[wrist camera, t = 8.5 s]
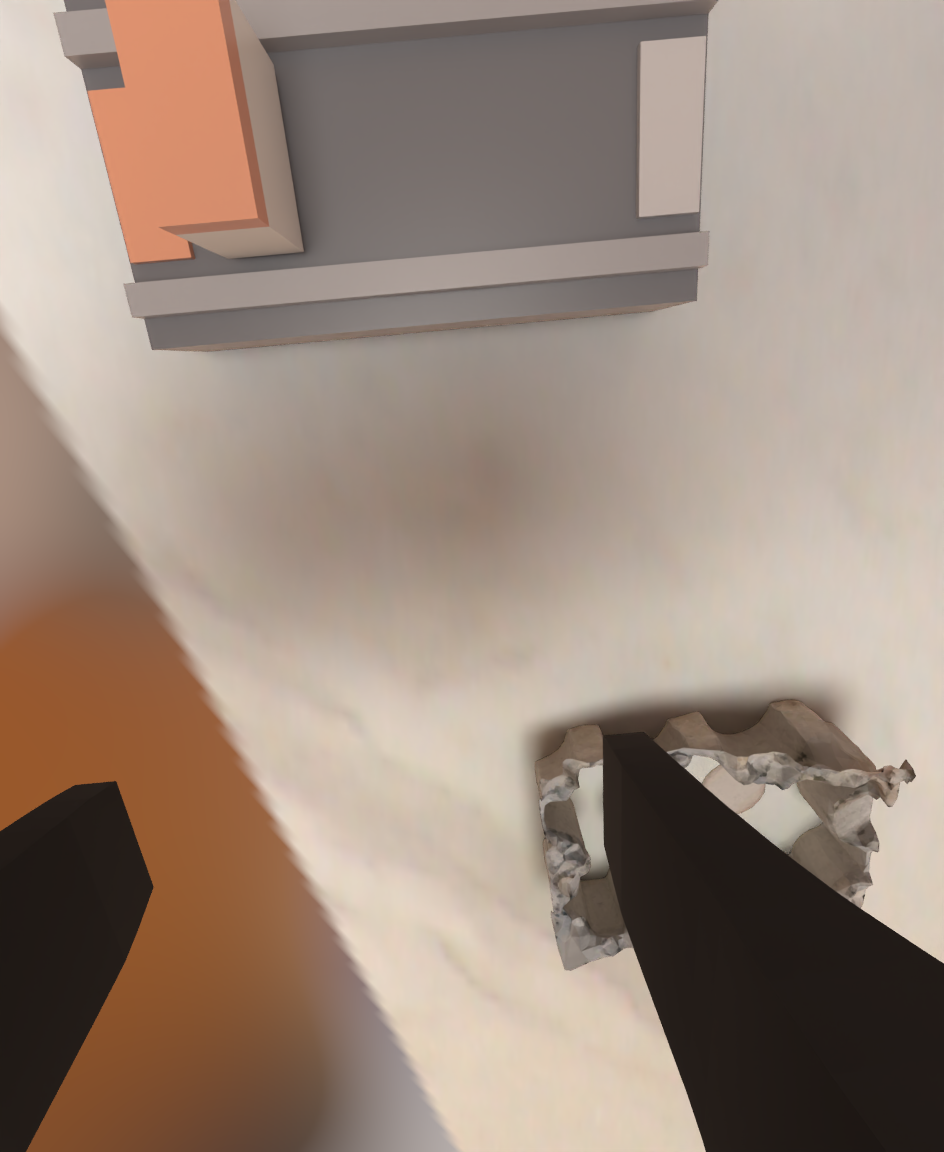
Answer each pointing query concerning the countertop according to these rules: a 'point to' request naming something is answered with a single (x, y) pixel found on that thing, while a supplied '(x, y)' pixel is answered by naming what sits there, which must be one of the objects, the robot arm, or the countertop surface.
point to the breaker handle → (208, 125)
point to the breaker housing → (438, 169)
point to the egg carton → (747, 762)
